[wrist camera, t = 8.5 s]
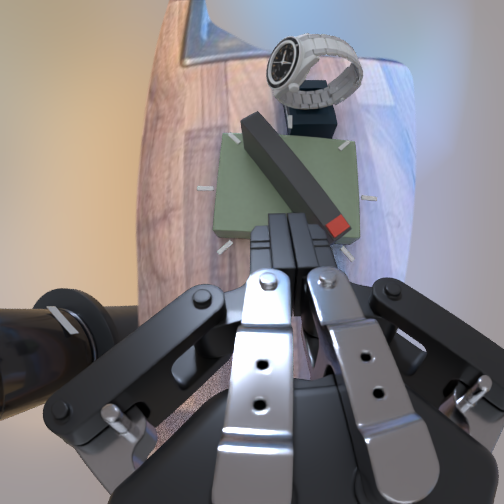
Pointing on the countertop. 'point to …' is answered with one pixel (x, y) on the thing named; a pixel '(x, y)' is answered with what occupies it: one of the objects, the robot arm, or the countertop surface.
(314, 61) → the watch
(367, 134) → the countertop surface
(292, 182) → the pointer
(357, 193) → the dial panel
